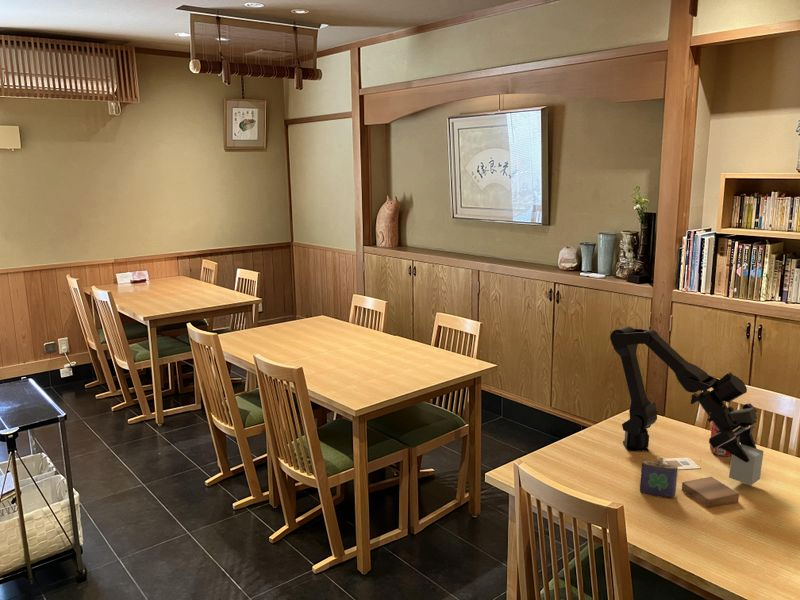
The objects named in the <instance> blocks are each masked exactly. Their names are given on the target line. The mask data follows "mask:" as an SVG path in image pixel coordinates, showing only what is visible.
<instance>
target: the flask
mask: <svg viewBox="0 0 800 600" xmlns="http://www.w3.org/2000/svg"><path fill="white" fill-rule="evenodd" d="M657 459H658V460H657V461H651V460H650V459H649V460H643V461H641V469H640V482H639V492H640V494H643V495H647V496H651V497H658V498H664V499H674V498H675V497H676V494H677V493H676V491H677V481H678V479H677V478H678V467H677V466H675V465H667V464H663V463H662V462H663V459H664V458H661V457H660V458H657Z"/></svg>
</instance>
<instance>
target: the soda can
mask: <svg viewBox="0 0 800 600" xmlns="http://www.w3.org/2000/svg"><path fill="white" fill-rule="evenodd" d="M711 423H712V424H711V429H710V438H711V437H713V436H714V435H716V434H718V433H717V431H719V430H718V428H717V427H716V425H715V424H714V423H713V421H711ZM735 435H736V434H735ZM721 445H722V444H721ZM721 445H719V446H721ZM719 446H717V447H715V448H712V446H711V445H710V444H709V450H710V451H711V452H712V453H713V454H715V455H717V456H722V457H729V456H732V454H731V453H729V452H728V451H726V450H724V449H722V448H719Z"/></svg>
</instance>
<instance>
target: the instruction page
mask: <svg viewBox="0 0 800 600" xmlns="http://www.w3.org/2000/svg"><path fill="white" fill-rule="evenodd" d="M658 459H659V458H657V461H658ZM662 459H663V462H662V463H663V464H667V465H675V466H677V467H678V470H699V469H701V467H700V466H699V465H698V464H697V463H696V462H694V461H693V460H692V459H691V458H690V457H675V458H674V457H673V458H671V457H668V458H662Z"/></svg>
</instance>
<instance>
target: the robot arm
mask: <svg viewBox="0 0 800 600" xmlns="http://www.w3.org/2000/svg"><path fill="white" fill-rule="evenodd" d="M609 340H610V342H611V346H612V348H613V350H614V351H615V353H617V355H618V356H619V357H620V361H621V365H622V369H623V374H624V377H625V381H626V385H627V389H628V394H629V398H630V405H629V408H628V413H629V418H628V420H626V421H625V422H622V424H621V426H622V427H621V428H622V430H623V431H624V440H622V444H623V446H624V448H625V449H626V450H627V451H629V452H649V449H648V447H649V444H650V443H649V442H650V434H649V433H648V432H649V431H648V429H649V428H651V426H652V425H653V424H655V423H656V422H657V421H658V415H659V412H658V411H657V405H656V401H655V402H654V401H653V402H651V401H650V400H649V399H648V397H647V394H646V388H645V385H644V382H643V377H642V374H641V373H642V372H641V368H640V365H639V361H638V357H637V350H638V345H645V346H646V347H647V348H648V349H650V350H651V352H653V353H654V354H655V355H656V356H657V358H659V359H660V360H661V361H662V362H663V363H664V364H665V365H666V366H667V367H668V368H669V369H671V371H672V372H673V373H674V375H675V377H676V381H678V383H679V385H680V386H681V387H682V388H683V390H684V391H686V392H688V393H691V399H690V405H694V404H696V403H699V405H700V407H702V410H704V412H705V413H706V414H707V416H708V417H709V418H707V421H708V423H712V422H713V423H714V424H715V425H716V427H717V428H718V430H719V431H717V433H718V434H716V435H714V436H713V437H711V436H710V437H709V438H708V443H709V446H710V445H711V446H712V448H715V447H717V446H719V445H721V444H722V445H721V446H719V448H722V449H724V450H726V451H728V452H729V453H731V455H732V454H733V455H735V456H736V457H738V458H739V459H741V460H743V461H744V462H748V461H749V459H748V457H747V455H746V453H745V452H744V450H743V448H742V447H741V445H740V444H743V445H747V446H750V447H753V448H756V449H758V448H757V445H756V443H755V439H754V438H753V430H754V429H755V424H756V423H757V420H758V416H757V413H758V409H756V408H755V406H754V405H752V403H749V402H748V403H744V404H743V405H742V408H740V409H734V407H733V406H731V405H730V406H727V404H726V403H730V402H733V401H734V400H736V399H738V398H739V397H742V396H743V395H745V394H746V393H747V391H748V389H747V386H746V384H745V382H744V381H743V380H742V379H741V378H740V377H738V376H737V375H734V374H733V373H732V372H727V373H726V374H725V375H723V376H722V377H721V378H717V377H714V376H712V375H709V374H708V373H707V372H706V371H705V370H703V369H702V368H700V367H699V366H698V365H695V364H694V363H691V362H689V361H688V360H686V359H685V358H684V357H682V356H681V355H680V353H678V352H677V351H676V350H675V349H674V348H673V347H672V346H671V345H670V344H669V343H667V341H666V340H664V339H663V338H662V337H661V336H660V335H659V334H658V332H657V331H656V330H655V329H652V328H651V329H643V328H633V327H632V326H629V325H628V326H627V325H626V326H623V327H620V328H617V329H614V330H613V331H612V332H611V334H610V335H609ZM710 389H712V390H711V391H710ZM698 392H700V393H698ZM692 393H693V394H692ZM750 426H751V427H750ZM735 434H736V435H735Z"/></svg>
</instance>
